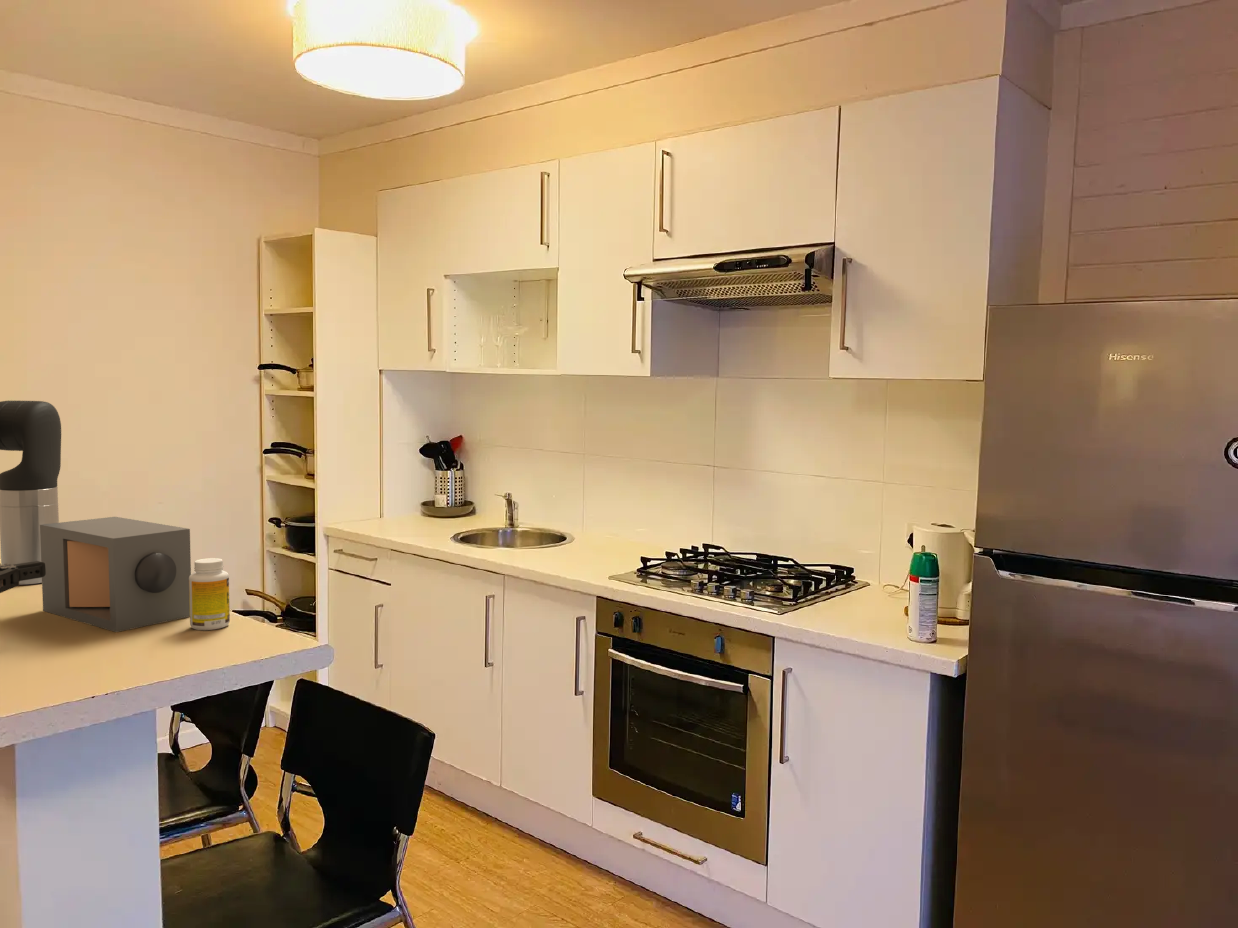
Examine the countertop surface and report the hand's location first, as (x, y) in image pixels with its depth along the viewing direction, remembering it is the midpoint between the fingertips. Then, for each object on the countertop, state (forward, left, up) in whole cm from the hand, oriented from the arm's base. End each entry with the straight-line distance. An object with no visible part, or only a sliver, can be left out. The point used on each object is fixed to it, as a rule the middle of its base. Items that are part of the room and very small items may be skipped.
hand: (42, 568), depth 134 cm
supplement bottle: (+14, +17, -10) cm, 24 cm away
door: (-3, +11, -8) cm, 14 cm away
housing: (-5, +13, -10) cm, 17 cm away
